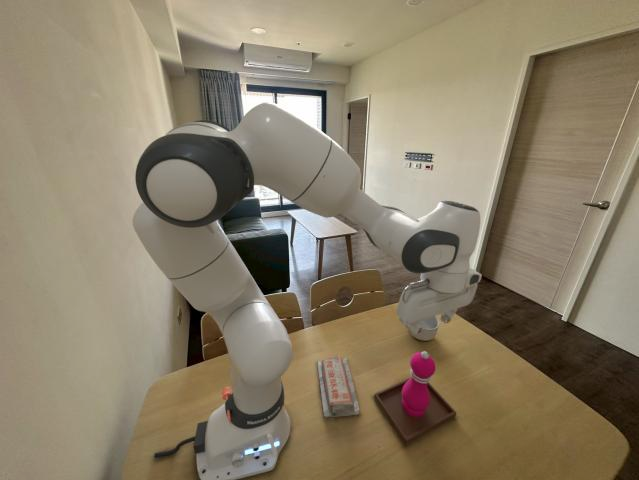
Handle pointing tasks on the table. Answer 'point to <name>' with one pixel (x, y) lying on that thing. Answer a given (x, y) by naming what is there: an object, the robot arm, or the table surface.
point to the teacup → (425, 328)
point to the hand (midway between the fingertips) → (430, 326)
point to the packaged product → (337, 388)
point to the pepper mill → (418, 385)
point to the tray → (407, 424)
